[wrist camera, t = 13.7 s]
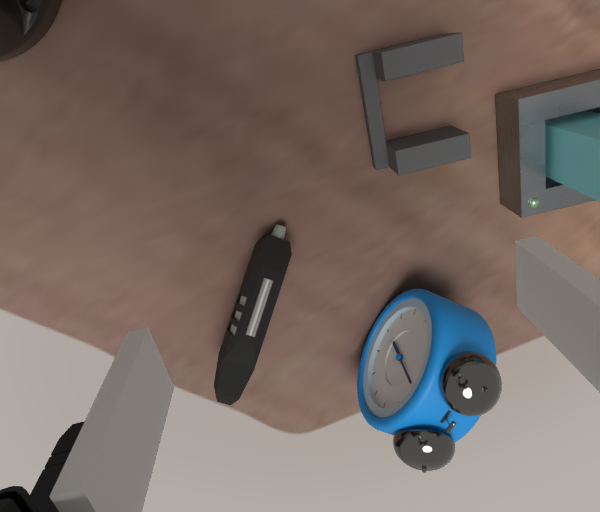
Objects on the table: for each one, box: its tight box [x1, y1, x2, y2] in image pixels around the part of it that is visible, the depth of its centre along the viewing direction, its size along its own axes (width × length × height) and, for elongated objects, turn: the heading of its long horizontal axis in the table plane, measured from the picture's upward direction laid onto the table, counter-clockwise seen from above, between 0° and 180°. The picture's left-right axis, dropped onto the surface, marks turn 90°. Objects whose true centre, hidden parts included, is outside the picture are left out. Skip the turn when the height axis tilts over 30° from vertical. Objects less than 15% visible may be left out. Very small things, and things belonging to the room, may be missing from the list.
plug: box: [545, 111, 600, 201], centre depth 37 cm, size 4×4×11 cm
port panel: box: [495, 69, 600, 218], centre depth 40 cm, size 10×10×4 cm
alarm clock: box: [357, 289, 502, 472], centre depth 42 cm, size 13×6×15 cm, turn 154°
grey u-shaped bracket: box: [356, 33, 471, 175], centre depth 38 cm, size 9×7×4 cm
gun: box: [214, 224, 291, 405], centre depth 44 cm, size 3×16×10 cm, turn 158°
